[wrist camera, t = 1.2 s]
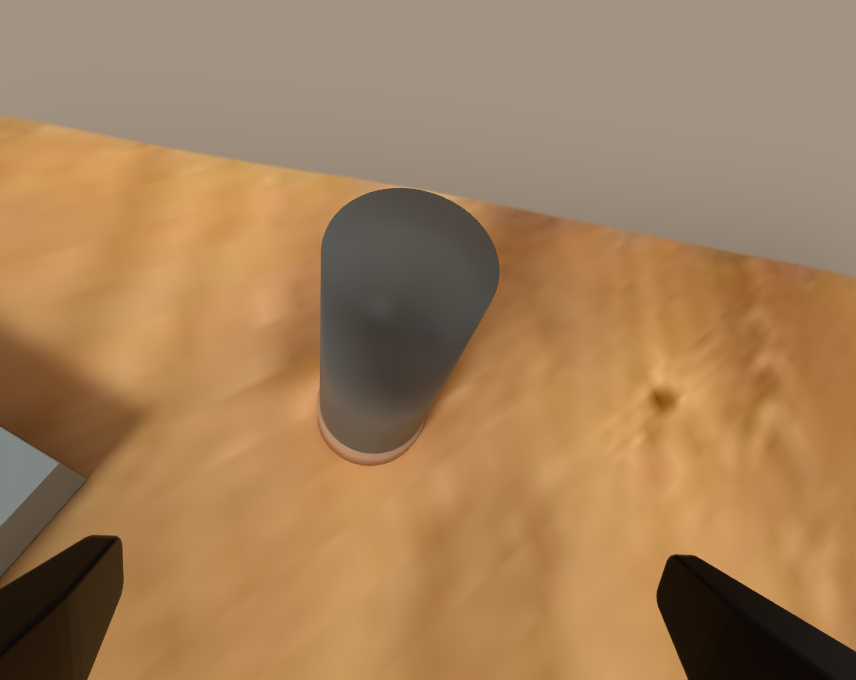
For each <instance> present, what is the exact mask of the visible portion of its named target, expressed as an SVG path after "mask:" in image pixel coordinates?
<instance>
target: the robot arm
mask: <svg viewBox="0 0 856 680" xmlns="http://www.w3.org/2000/svg"><path fill="white" fill-rule="evenodd" d="M123 582H124V576H123V550H122V542H121V539H120V538H119V537H118V536H110V535H90V536H88V537H86V538H84V539H82V540H80V541H79V542H77V543H75V544H74V545H72V546H70V547H69V548H67V549H65V550H64V551H62V552H60V553H59V554H57V555H55V556H54V557H52V558H50V559H49V560H47V561H45V562H44V563H42V564H40V565H39V566H37V567H35V568H34V569H32V570H30V571H29V572H27V573H26V574H24V575H22V576H21V577H19V578H17V579H16V580H14V581H12V582H11V583H9V584H7V585H6V586H4V587H2V588H1V589H0V680H87V679H88V677H89V674H90V672H91V669H92V667H93V664H94V662H95V659H96V657H97V654H98V652H99V649H100V647H101V644H102V642H103V639H104V637H105V634H106V632H107V629H108V627H109V624H110V622H111V619H112V617H113V614H114V612H115V609H116V607H117V604H118V602H119V599H120V597H121V593H122V589H123ZM656 597H657V604H658V607H659V610H660V612H661V615H662V617H663V620H664V622H665V625H666V627H667V629H668V632H669V634H670V637H671V639H672V642H673V644H674V646H675V649H676V651H677V654H678V656H679V659H680V661H681V663H682V666H683V668H684V671H685V673H686V676H687V678H688V680H856V652H855V651H854V650H852V649H850V648H849V647H847V646H845V645H844V644H842V643H840V642H839V641H837V640H835V639H834V638H832V637H830V636H829V635H827V634H825V633H824V632H822V631H820V630H819V629H817V628H815V627H814V626H812V625H810V624H809V623H807V622H805V621H804V620H802V619H800V618H799V617H797V616H795V615H794V614H792V613H790V612H789V611H787V610H785V609H784V608H782V607H780V606H779V605H777V604H775V603H774V602H772V601H770V600H769V599H767V598H765V597H763V596H762V595H760V594H758V593H757V592H755V591H753V590H752V589H750V588H748V587H747V586H745V585H743V584H742V583H740V582H738V581H737V580H735V579H733V578H732V577H730V576H728V575H727V574H725V573H723V572H722V571H720V570H718V569H717V568H715V567H713V566H712V565H710V564H708V563H707V562H705V561H703V560H702V559H700V558H698V557H696V556H693V555H678V554H675V555H672V556H670V557H669V558H668V560H667V562H666V565H665V568H664V571H663V574H662V577H661V580H660V583H659V586H658V589H657V596H656Z"/></svg>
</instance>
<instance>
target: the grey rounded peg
mask: <svg viewBox="0 0 856 680" xmlns="http://www.w3.org/2000/svg"><path fill="white" fill-rule="evenodd" d="M498 281H499V262H498V257H497V253H496V250H495V247H494V245H493V243H492V241H491V239H490V237H489V235H488V234H487V232H486V231H485V229H484V228H483V227H482V225H481V224H480V223H479V222H478V221H477V220H476V219H475V218H474V217H473V216H472V215H471V214H470V213H468V212H467V211H466V210H465V209H463V208H462V207H460V206H459V205H457V204H455V203H454V202H452V201H450V200H448V199H446V198H444V197H442V196H439V195H436V194H433V193H430V192H426V191H422V190H416V189H408V188H391V189H383V190H378V191H374V192H370V193H367V194H365V195H362V196H360V197H358V198H356V199H354V200H352V201H351V202H349V203H348V204H347V205H345V206H344V207H343V208H342V209H341V210H340V211H339V212H338V213H337V214H336V215H335V216H334V217H333V219H332V220H331V221H330V223H329V225H328V227H327V229H326V231H325V234H324V237H323V240H322V247H321V323H320V389H319V392H318V399H317V419H318V426H319V429H320V432H321V435H322V437H323V439H324V440H325V442H326V444H327V445H328V446H329V447H330V448H331V450H332V451H334V452H335V453H336V454H337V455H338V456H340V457H341V458H343V459H345V460H347V461H349V462H352V463H355V464H359V465H367V466H373V465H381V464H385V463H388V462H391V461H393V460H395V459H397V458H398V457H400V456H401V455H403V454H404V453H405V452H406V451H407V450H408V449H409V448H410V447H411V446H412V444H413V443H414V441H415V440H416V438H417V436H418V435H419V433H420V431H421V429H422V427H423V425H424V423H425V420H426V417H427V414H428V412H429V410H430V409H431V407H432V405H433V403H434V402H435V400H436V398H437V396H438V395H439V393H440V391H441V389H442V387H443V386H444V384H445V382H446V380H447V379H448V377H449V375H450V373H451V372H452V370H453V368H454V366H455V364H456V363H457V361H458V359H459V357H460V356H461V354H462V352H463V350H464V349H465V347H466V345H467V343H468V341H469V340H470V338H471V336H472V334H473V333H474V331H475V329H476V327H477V326H478V324H479V322H480V320H481V318H482V317H483V315H484V313H485V311H486V310H487V308H488V306H489V304H490V303H491V301H492V299H493V297H494V294H495V292H496V289H497V285H498Z"/></svg>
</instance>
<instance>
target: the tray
mask: <svg viewBox="0 0 856 680" xmlns="http://www.w3.org/2000/svg"><path fill="white" fill-rule="evenodd" d="M86 480H87V478H85V477H83V476H82V475H80V474H78V473H77V472H75V471H74V470H72V469H70V468H69V467H67V466H65V465H64V464H62V463H61V462H59V461H57V460H56V459H54V458H52V457H51V456H49V455H48V454H46V453H44V452H43V451H41V450H39V449H38V448H36V447H35V446H33V445H31V444H30V443H28V442H26V441H25V440H23V439H22V438H20V437H18V436H17V435H15V434H13V433H12V432H10V431H8V430H7V429H5V428H4V427H2V426H0V577H1V576H2V575H3V574H4V573H5V571H6V570H7V569H8V568H9V567H10V566H11V565H12V564H13V562H14V561H15V560H16V559H17V558H18V557H19V556H20V554H21V553H22V552H23V551H24V550H25V549H26V548H27V547H28V545H29V544H30V543H31V542H32V541H33V540H34V539H35V538H36V536H37V535H38V534H39V533H40V532H41V531H42V530H43V529H44V527H45V526H46V525H47V524H48V523H49V522H50V521H51V519H52V518H53V517H54V516H55V515H56V514H57V513H58V512H59V510H60V509H61V508H62V507H63V506H64V505H65V504H66V503H67V501H68V500H69V499H70V498H71V497H72V496H73V495H74V494H75V492H76V491H77V490H78V489H79V488H80V487H81V486H82V484H83V483H84V482H85V481H86Z"/></svg>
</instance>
